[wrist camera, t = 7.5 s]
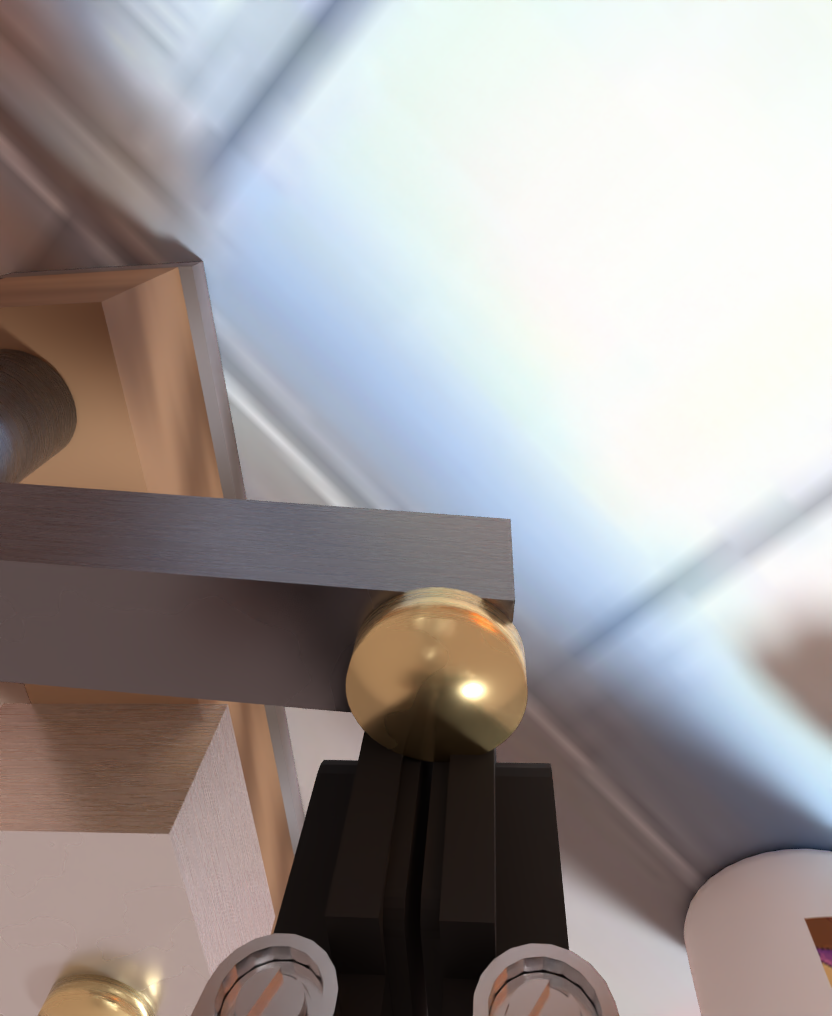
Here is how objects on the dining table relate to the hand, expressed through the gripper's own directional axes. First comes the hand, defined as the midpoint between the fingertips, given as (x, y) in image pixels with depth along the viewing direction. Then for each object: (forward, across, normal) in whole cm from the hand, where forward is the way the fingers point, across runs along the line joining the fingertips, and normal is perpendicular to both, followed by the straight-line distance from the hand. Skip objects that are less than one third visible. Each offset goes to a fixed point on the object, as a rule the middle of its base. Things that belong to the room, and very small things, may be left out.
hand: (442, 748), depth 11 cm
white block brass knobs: (+6, +9, +8) cm, 14 cm away
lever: (+6, +5, -3) cm, 8 cm away
